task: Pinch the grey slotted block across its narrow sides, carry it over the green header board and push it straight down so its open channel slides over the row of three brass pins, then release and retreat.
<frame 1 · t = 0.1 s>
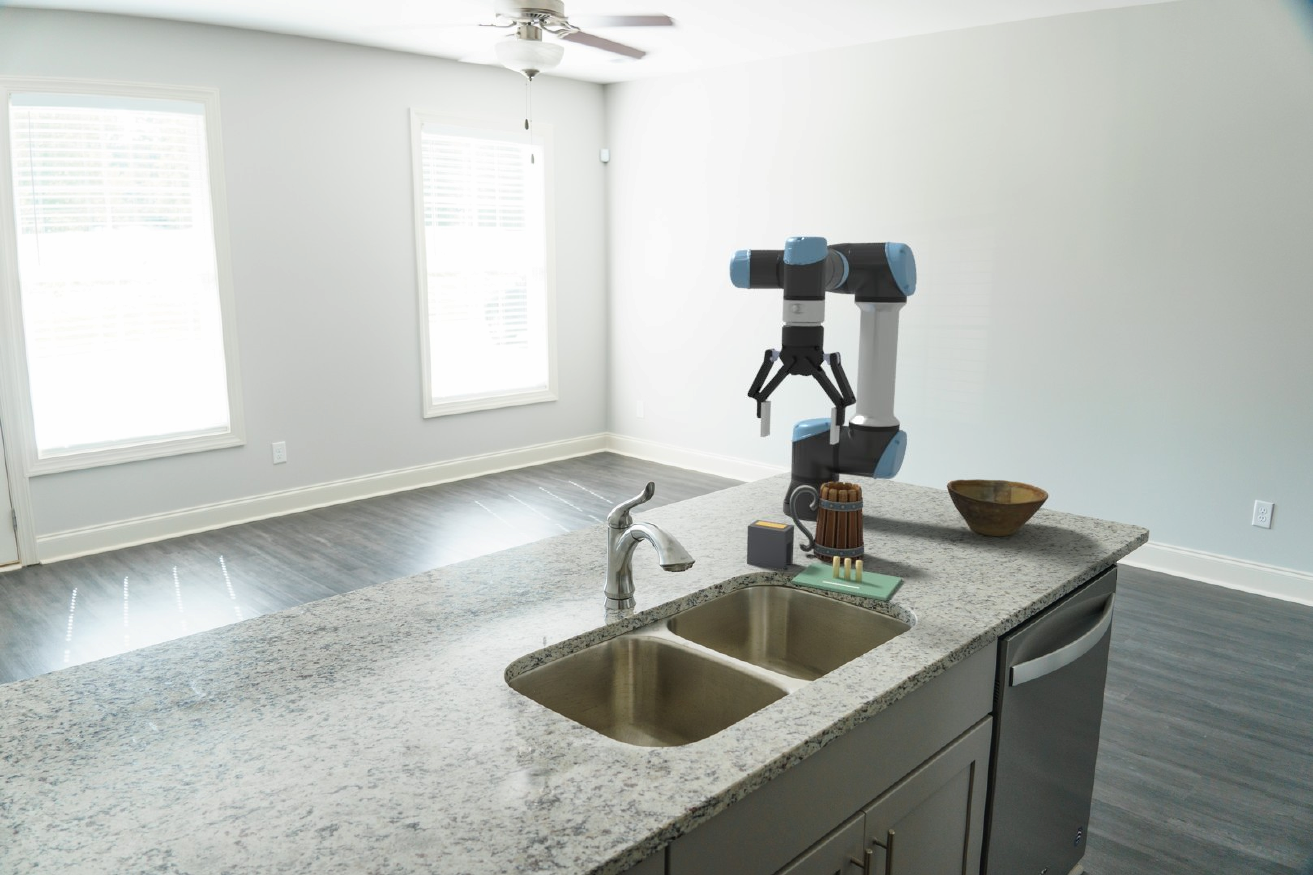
hand: (799, 439, 164), 28 cm above the worktop, fingers open, 13 cm apart
mug: (825, 556, 185), on the worktop
grey slotted block: (769, 563, 180), on the worktop
header board: (846, 582, 169), on the worktop
bowl: (993, 531, 203), on the worktop
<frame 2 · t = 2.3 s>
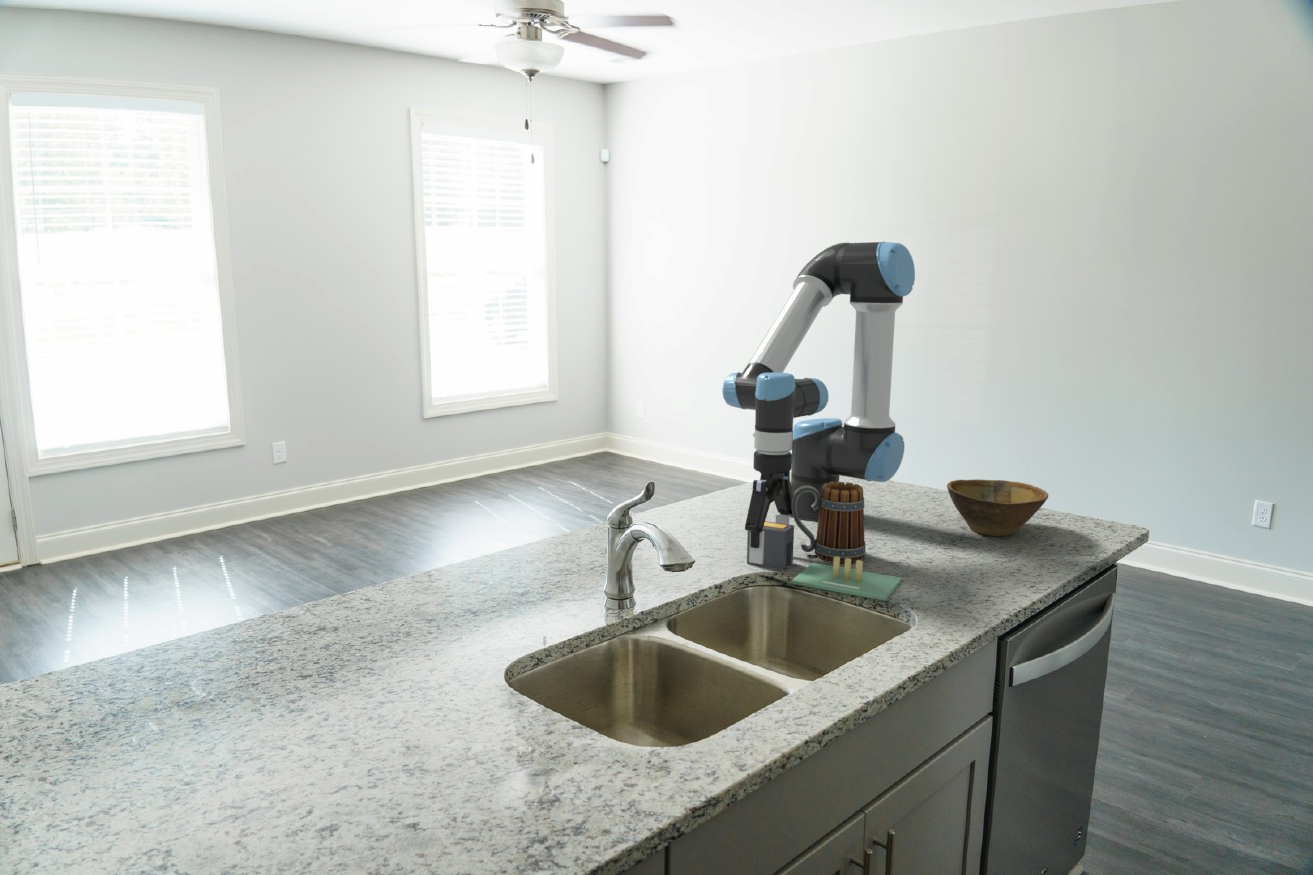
hand: (769, 553, 180), 2 cm above the worktop, fingers open, 13 cm apart
mug: (827, 556, 185), on the worktop, touching hand
everything else where it was.
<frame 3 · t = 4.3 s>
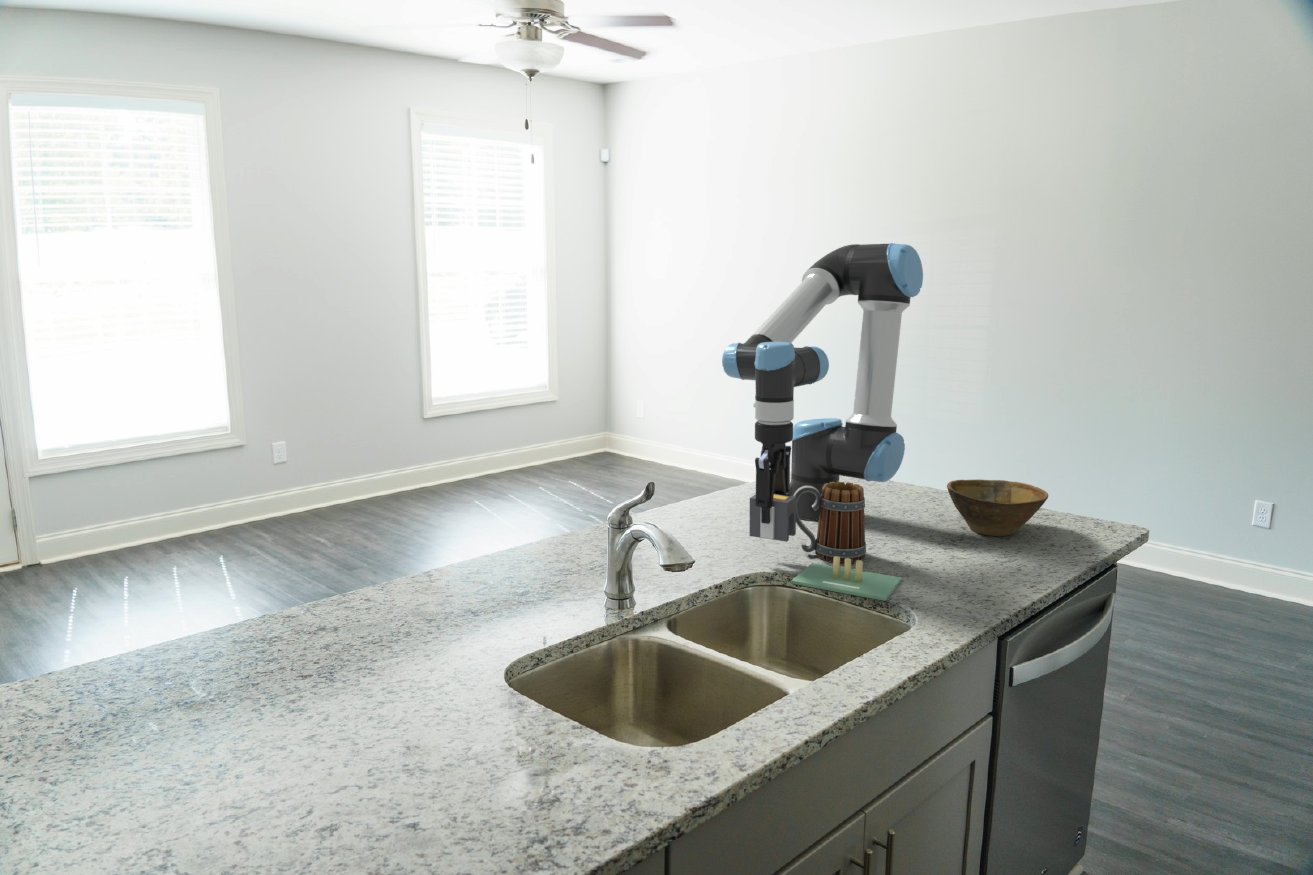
hand: (772, 533, 179), 6 cm above the worktop, fingers closed on grey slotted block, 5 cm apart
mug: (827, 556, 185), on the worktop
grey slotted block: (772, 535, 180), point 6 cm above the worktop, touching gripper
everything else where it was.
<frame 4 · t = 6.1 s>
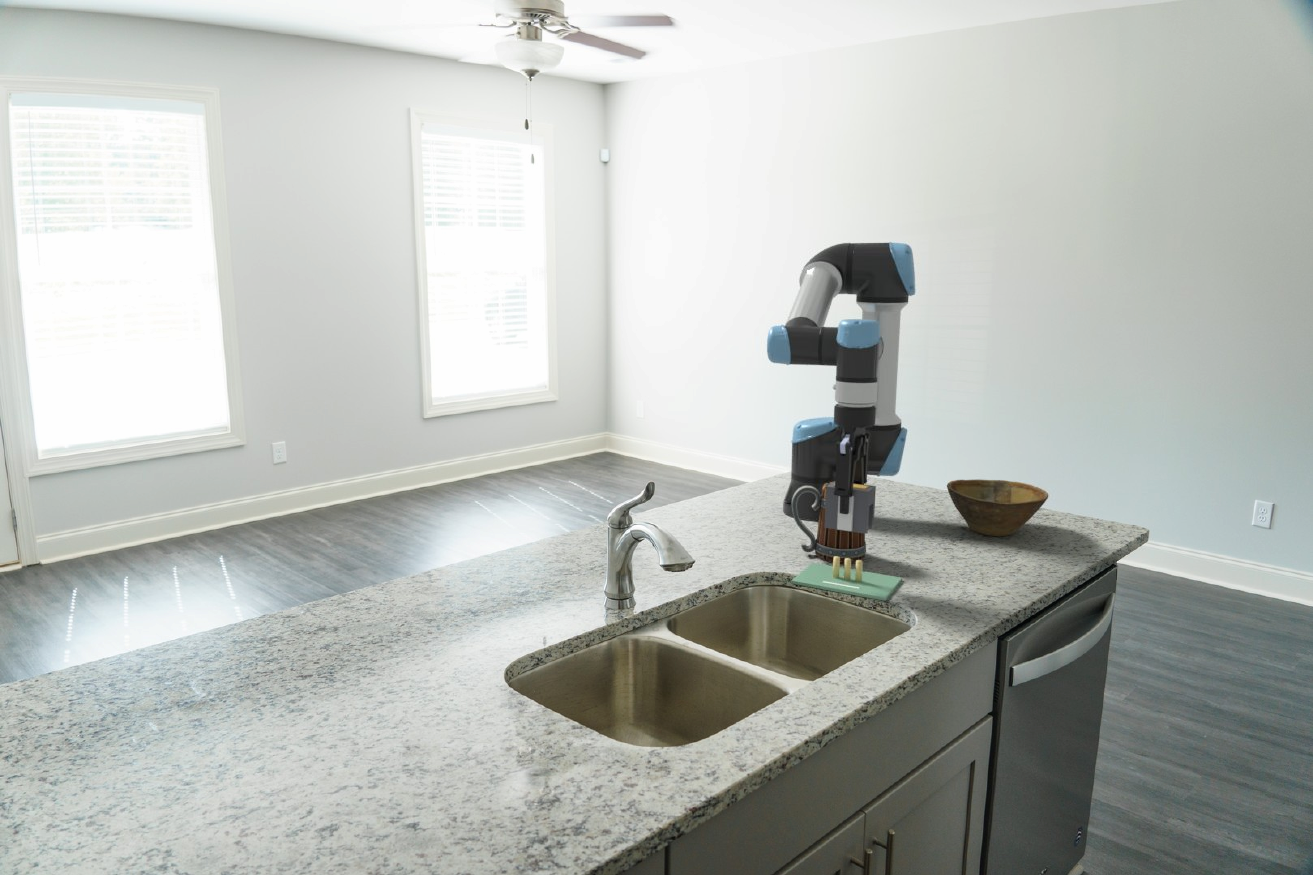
hand: (849, 525, 167), 11 cm above the worktop, fingers closed on grey slotted block, 5 cm apart
grey slotted block: (849, 527, 167), point 11 cm above the worktop, touching gripper
everything else where it was.
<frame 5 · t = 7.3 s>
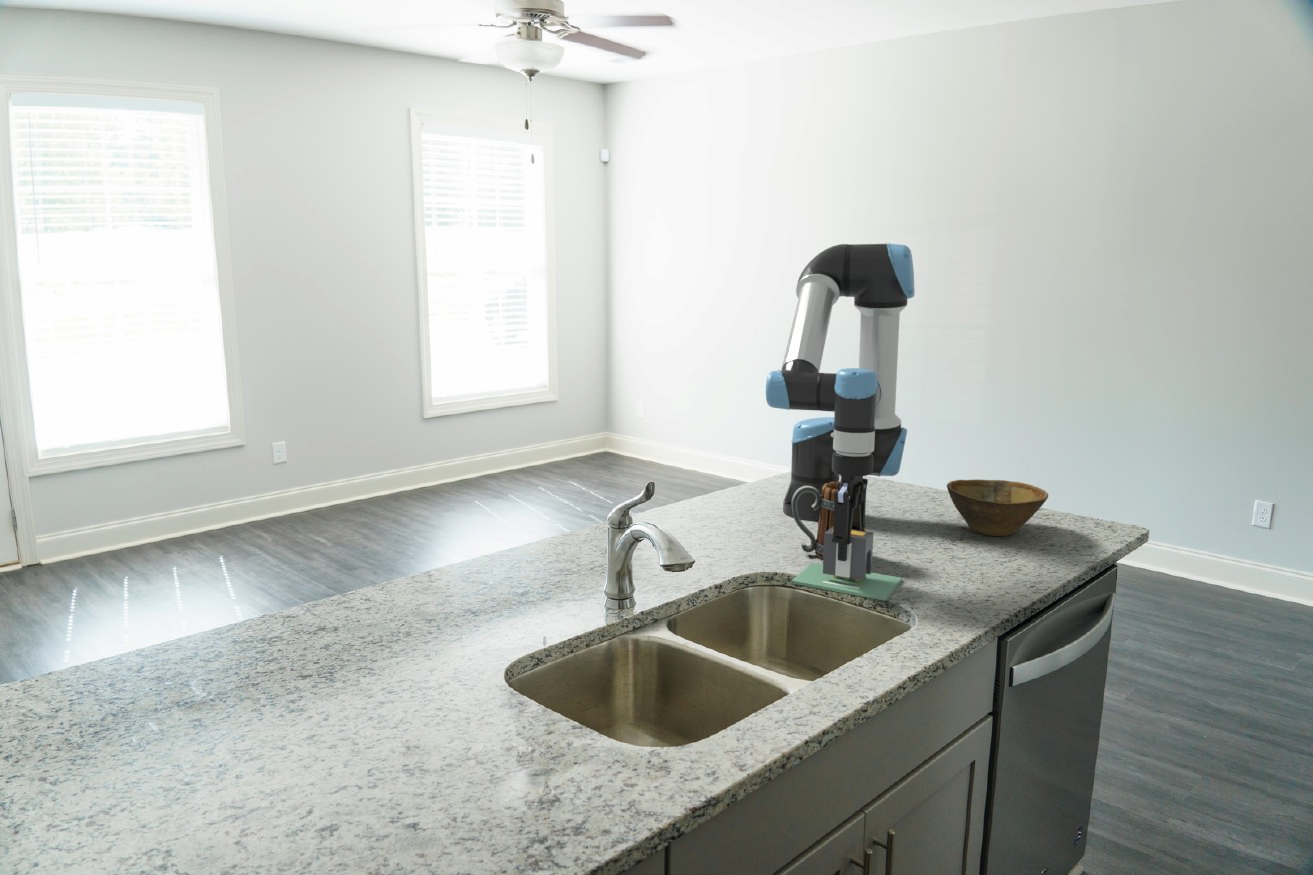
hand: (847, 571, 169), 2 cm above the worktop, fingers closed on grey slotted block, 5 cm apart
grey slotted block: (847, 573, 169), point 2 cm above the worktop, touching gripper
everything else where it was.
when the fingers open (2 cm above the worktop, at t = 8.3 s): grey slotted block stays where it is, resting on header board.
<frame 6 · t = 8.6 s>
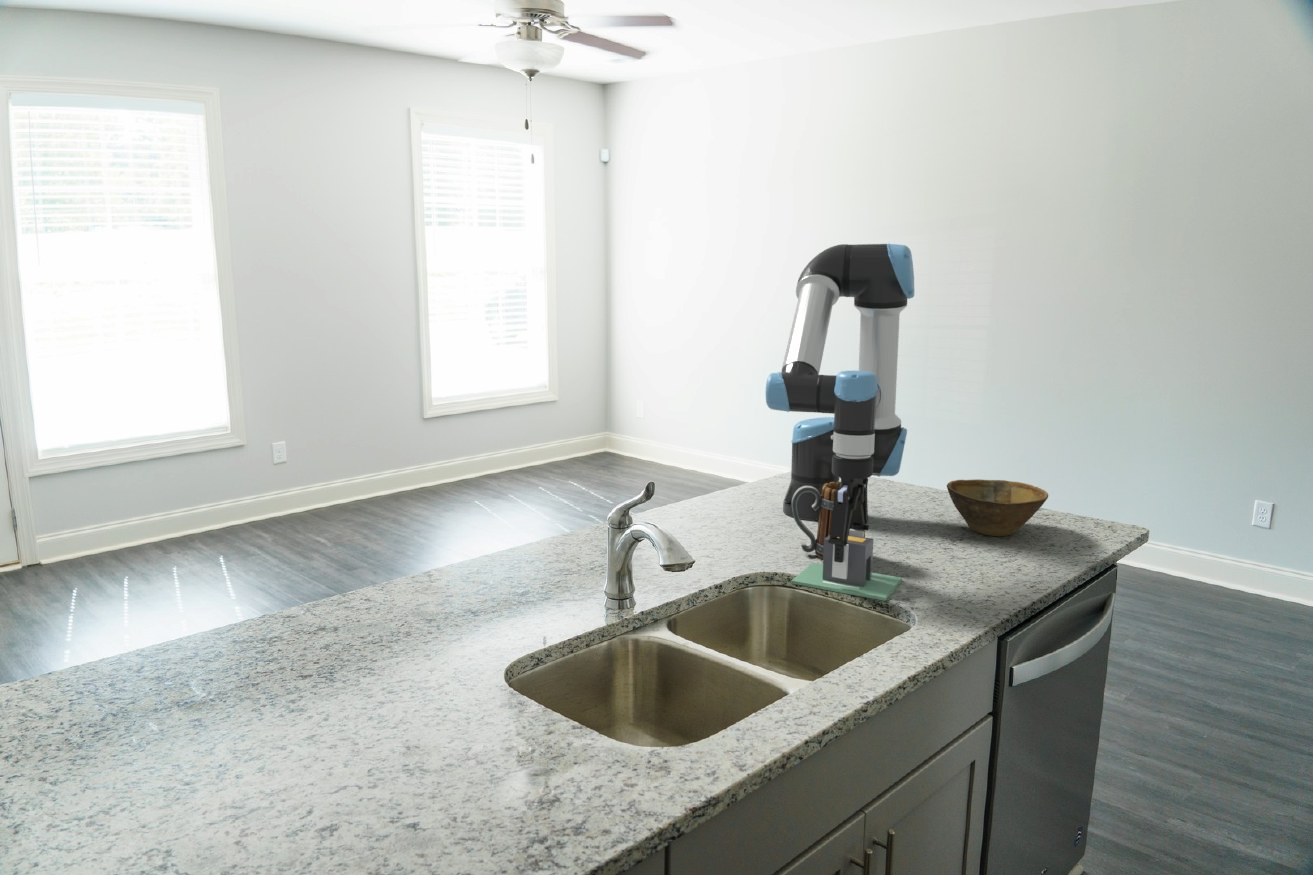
hand: (847, 569, 169), 3 cm above the worktop, fingers open, 9 cm apart
grey slotted block: (846, 579, 169), point 1 cm above the worktop, touching header board
everything else where it was.
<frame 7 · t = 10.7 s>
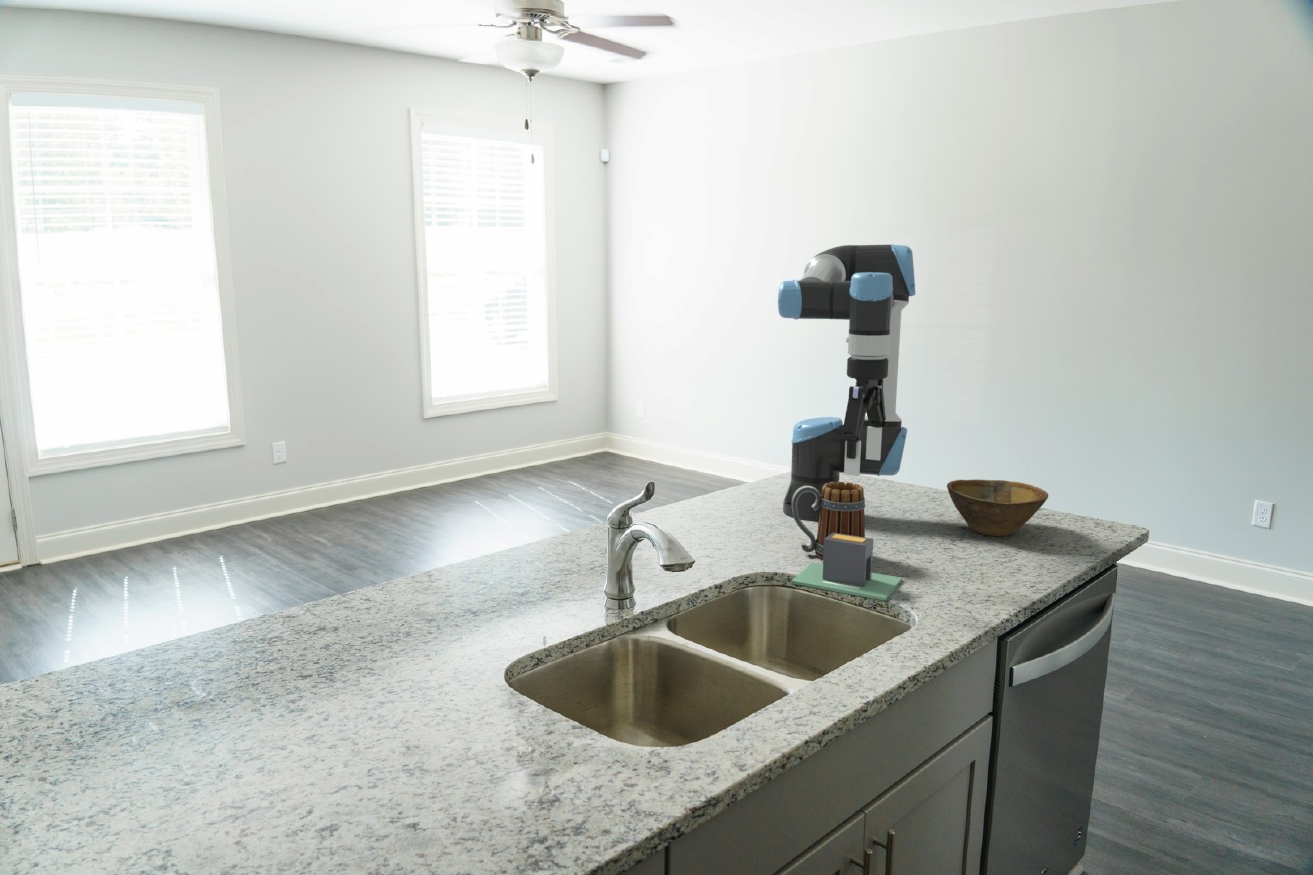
hand: (862, 467, 170), 22 cm above the worktop, fingers open, 13 cm apart
nothing on the worktop moved.
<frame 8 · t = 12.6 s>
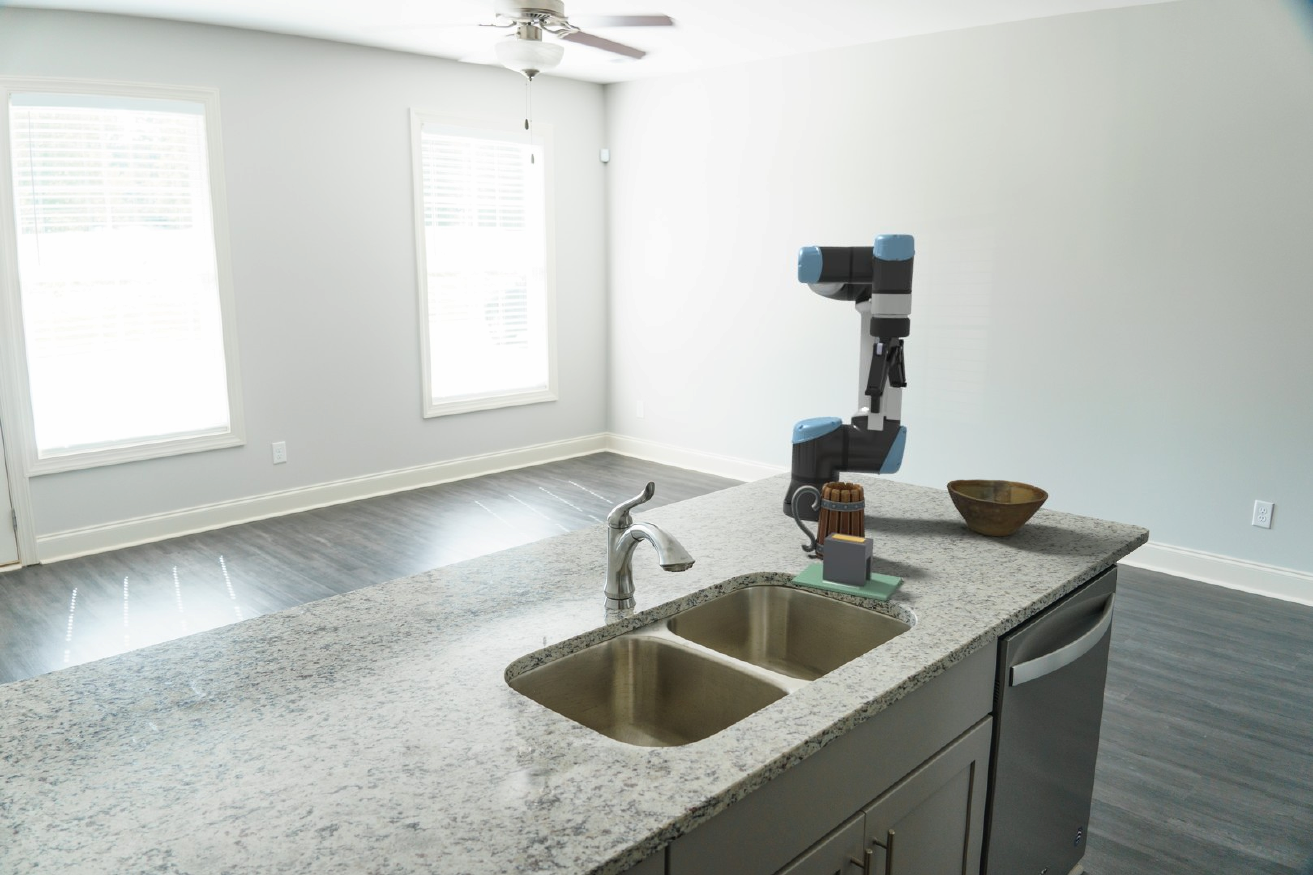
hand: (884, 424, 175), 29 cm above the worktop, fingers open, 13 cm apart
nothing on the worktop moved.
at the end: grey slotted block 0.0 cm off-centre on the header board, point 0.6 cm above the header board's base; grey slotted block tilted 0°; the gripper is holding nothing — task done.
